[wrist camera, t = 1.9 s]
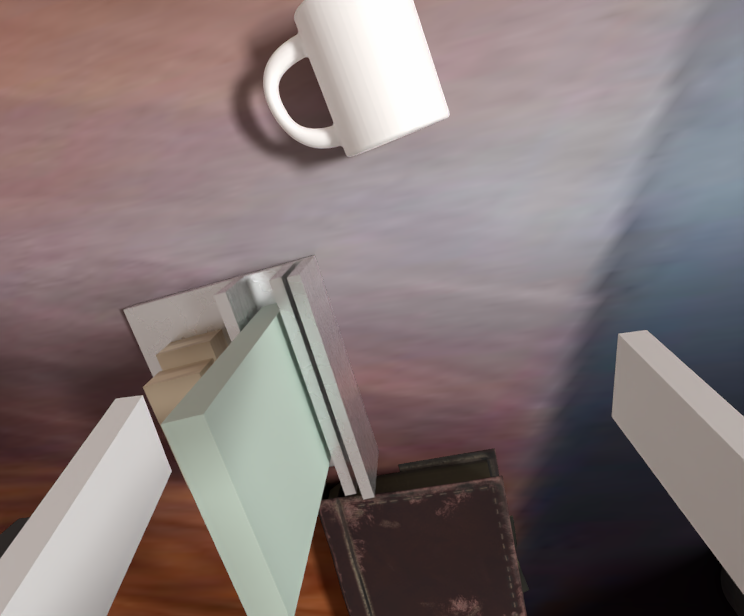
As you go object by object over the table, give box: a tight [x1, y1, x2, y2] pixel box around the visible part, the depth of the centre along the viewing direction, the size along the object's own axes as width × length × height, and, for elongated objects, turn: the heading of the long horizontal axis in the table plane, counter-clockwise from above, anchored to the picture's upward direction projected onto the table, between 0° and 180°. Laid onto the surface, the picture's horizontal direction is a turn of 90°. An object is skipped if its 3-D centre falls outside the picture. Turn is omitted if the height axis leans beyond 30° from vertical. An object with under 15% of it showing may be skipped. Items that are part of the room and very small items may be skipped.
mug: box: [263, 0, 450, 157], centre depth 37 cm, size 12×10×8 cm
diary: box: [318, 448, 529, 616], centre depth 52 cm, size 19×25×5 cm
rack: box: [123, 255, 379, 500], centre depth 45 cm, size 20×18×7 cm
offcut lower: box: [156, 329, 228, 371], centre depth 47 cm, size 12×5×3 cm, turn 16°
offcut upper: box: [143, 358, 214, 489], centre depth 44 cm, size 10×5×3 cm, turn 16°
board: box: [161, 303, 331, 616], centre depth 38 cm, size 14×2×20 cm, turn 16°
